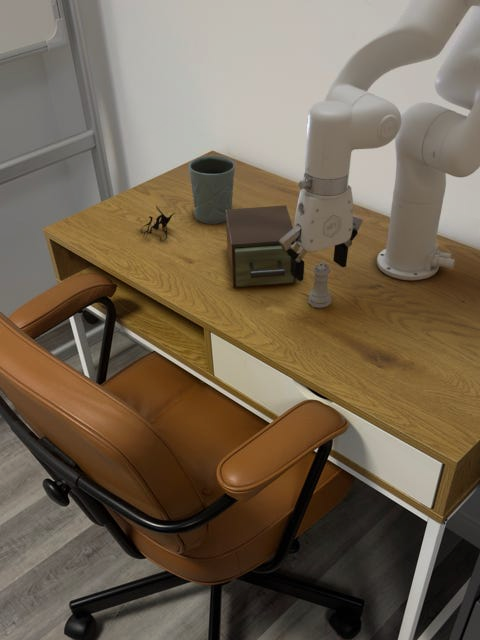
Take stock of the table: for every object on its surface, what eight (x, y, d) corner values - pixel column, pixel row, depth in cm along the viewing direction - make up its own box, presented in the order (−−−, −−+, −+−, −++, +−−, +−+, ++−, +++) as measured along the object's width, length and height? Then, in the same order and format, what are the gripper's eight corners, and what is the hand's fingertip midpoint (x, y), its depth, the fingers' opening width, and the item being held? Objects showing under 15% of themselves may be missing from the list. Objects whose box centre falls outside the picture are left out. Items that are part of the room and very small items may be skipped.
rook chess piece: (330, 310, 134) (332, 273, 129) (306, 308, 135) (308, 271, 129) (332, 297, 137) (334, 261, 132) (309, 295, 138) (311, 259, 133)
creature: (158, 249, 155) (183, 229, 158) (152, 230, 151) (177, 209, 154) (134, 238, 159) (158, 218, 162) (127, 219, 154) (152, 199, 157)
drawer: (296, 294, 137) (298, 259, 131) (238, 299, 136) (237, 263, 131) (284, 248, 150) (284, 214, 144) (230, 252, 149) (229, 218, 144)
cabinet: (295, 283, 142) (296, 239, 135) (233, 287, 141) (231, 244, 134) (285, 247, 152) (286, 205, 146) (227, 251, 152) (225, 209, 145)
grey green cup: (186, 211, 166) (181, 160, 157) (225, 201, 169) (223, 151, 160) (203, 229, 159) (199, 177, 151) (243, 219, 162) (242, 168, 154)
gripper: (295, 201, 114) (290, 292, 125) (380, 178, 120) (368, 267, 132) (271, 184, 119) (268, 274, 130) (353, 163, 125) (343, 250, 136)
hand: (318, 270), depth 131 cm, fingers open, 9 cm apart
